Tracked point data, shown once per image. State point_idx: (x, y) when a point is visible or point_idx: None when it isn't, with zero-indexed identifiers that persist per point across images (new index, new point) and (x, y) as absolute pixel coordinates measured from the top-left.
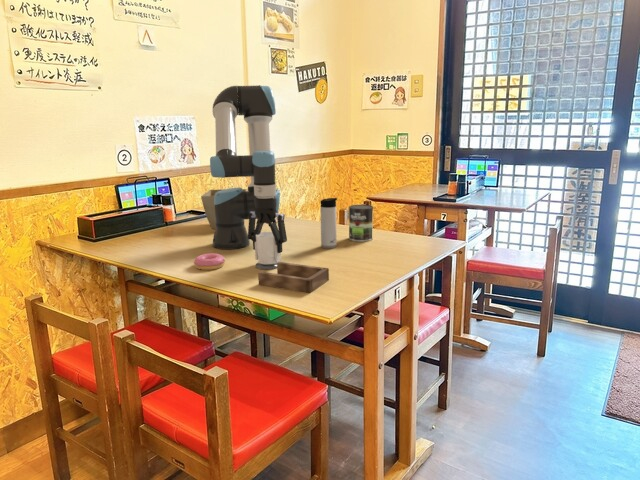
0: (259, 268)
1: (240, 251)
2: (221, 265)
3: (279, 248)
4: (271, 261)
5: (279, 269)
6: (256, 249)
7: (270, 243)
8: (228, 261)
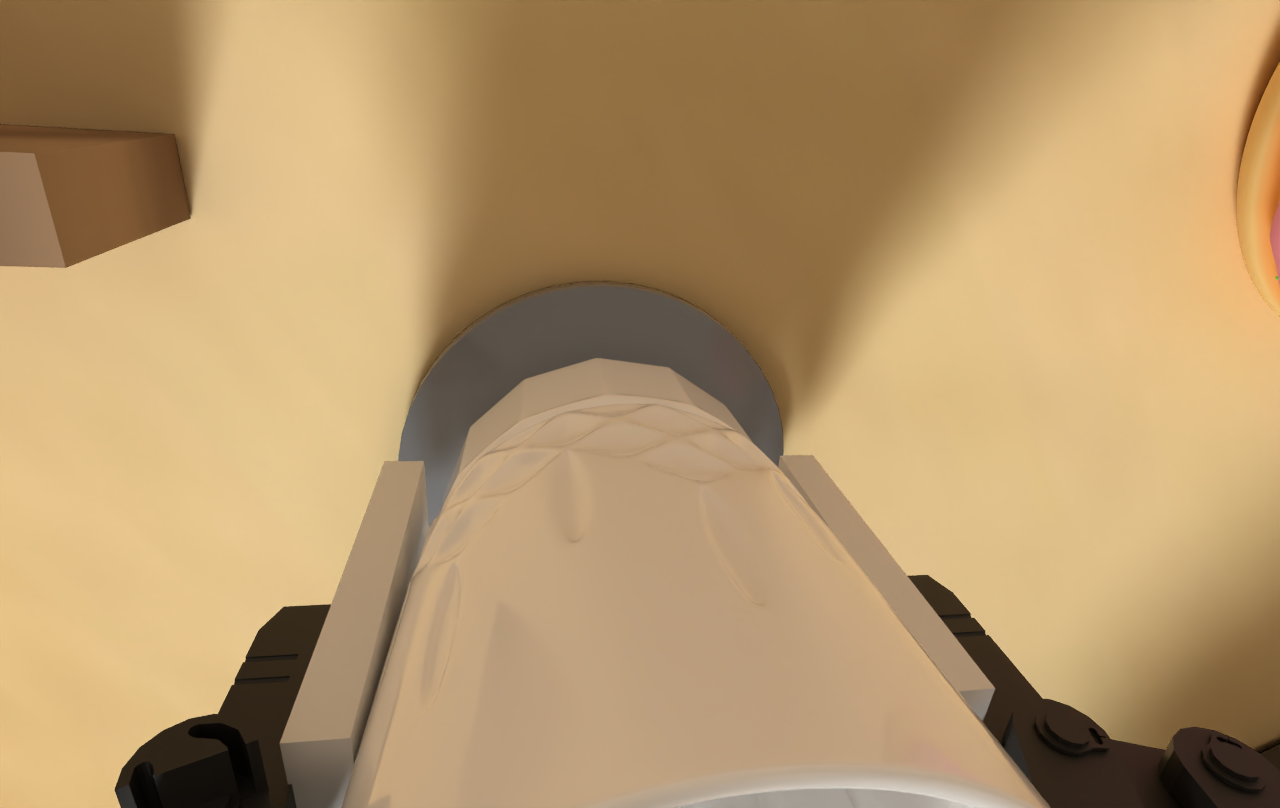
0: (646, 288)
1: (1146, 743)
2: (1273, 104)
3: (248, 689)
4: (472, 435)
5: (59, 137)
6: (863, 566)
7: (408, 694)
8: (1198, 416)
